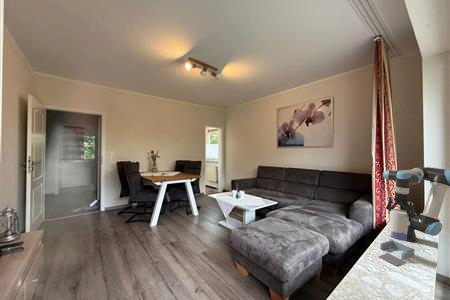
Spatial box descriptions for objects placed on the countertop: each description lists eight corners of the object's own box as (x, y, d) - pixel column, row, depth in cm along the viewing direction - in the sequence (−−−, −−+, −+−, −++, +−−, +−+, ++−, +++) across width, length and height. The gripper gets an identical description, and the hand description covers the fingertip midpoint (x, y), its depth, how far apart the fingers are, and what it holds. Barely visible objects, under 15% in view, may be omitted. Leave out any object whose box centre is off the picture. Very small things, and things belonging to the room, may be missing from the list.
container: (400, 235, 152) (403, 209, 150) (410, 241, 142) (412, 214, 140) (386, 233, 154) (388, 208, 152) (394, 240, 144) (396, 213, 142)
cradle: (391, 245, 159) (391, 239, 159) (414, 255, 146) (414, 249, 145) (380, 249, 153) (380, 243, 153) (402, 260, 140) (403, 253, 140)
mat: (387, 253, 147) (387, 253, 147) (405, 262, 137) (405, 261, 137) (378, 257, 143) (378, 256, 143) (396, 266, 133) (396, 265, 133)
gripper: (381, 189, 154) (379, 216, 156) (418, 197, 134) (415, 229, 135) (387, 188, 157) (384, 215, 159) (424, 196, 136) (421, 228, 138)
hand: (399, 222), depth 147 cm, fingers closed on container, 10 cm apart
